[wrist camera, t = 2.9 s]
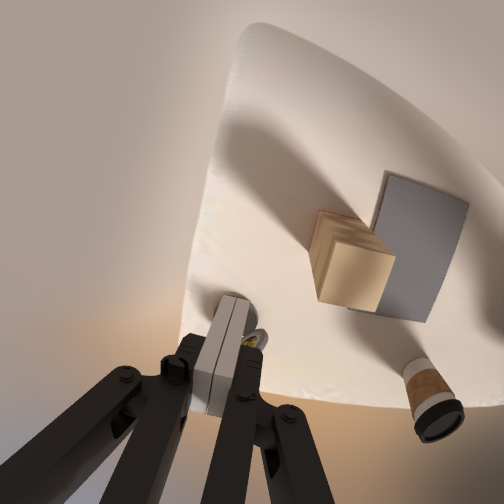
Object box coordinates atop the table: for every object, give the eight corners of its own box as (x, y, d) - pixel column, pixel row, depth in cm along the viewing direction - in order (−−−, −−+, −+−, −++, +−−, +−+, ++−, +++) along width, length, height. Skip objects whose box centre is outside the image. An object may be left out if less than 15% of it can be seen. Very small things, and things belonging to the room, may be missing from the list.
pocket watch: (220, 290, 45) (204, 327, 35) (275, 306, 45) (272, 347, 35) (209, 333, 48) (193, 373, 38) (259, 348, 48) (253, 391, 38)
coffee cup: (400, 354, 46) (427, 417, 32) (442, 348, 45) (475, 405, 31) (391, 388, 48) (411, 450, 34) (430, 382, 47) (456, 439, 33)
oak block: (361, 220, 39) (395, 256, 26) (349, 261, 41) (374, 312, 28) (319, 209, 39) (336, 242, 26) (308, 252, 42) (318, 301, 28)
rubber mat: (467, 202, 36) (469, 203, 36) (423, 321, 43) (424, 322, 43) (388, 174, 37) (389, 174, 36) (347, 307, 44) (348, 309, 43)
